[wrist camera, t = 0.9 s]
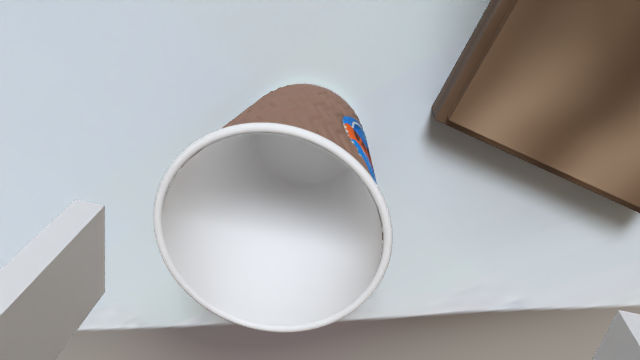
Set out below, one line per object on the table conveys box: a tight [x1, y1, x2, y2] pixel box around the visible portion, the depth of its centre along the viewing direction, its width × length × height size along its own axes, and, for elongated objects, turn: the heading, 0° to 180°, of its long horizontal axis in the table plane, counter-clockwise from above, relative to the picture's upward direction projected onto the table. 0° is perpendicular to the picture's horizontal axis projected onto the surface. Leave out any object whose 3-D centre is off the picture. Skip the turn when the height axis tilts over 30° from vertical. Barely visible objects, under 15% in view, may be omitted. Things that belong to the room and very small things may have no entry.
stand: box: [432, 0, 640, 213], centre depth 29 cm, size 14×12×3 cm
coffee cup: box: [154, 84, 392, 332], centre depth 29 cm, size 10×10×12 cm
